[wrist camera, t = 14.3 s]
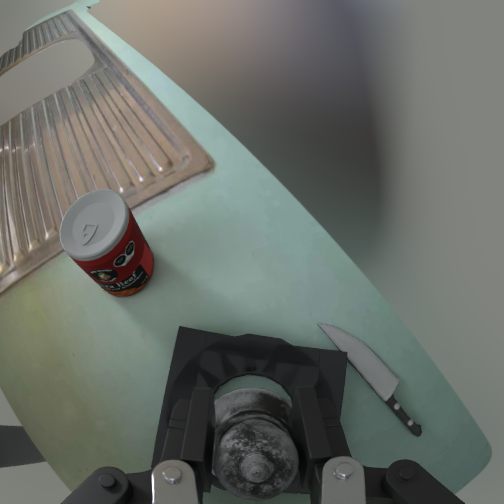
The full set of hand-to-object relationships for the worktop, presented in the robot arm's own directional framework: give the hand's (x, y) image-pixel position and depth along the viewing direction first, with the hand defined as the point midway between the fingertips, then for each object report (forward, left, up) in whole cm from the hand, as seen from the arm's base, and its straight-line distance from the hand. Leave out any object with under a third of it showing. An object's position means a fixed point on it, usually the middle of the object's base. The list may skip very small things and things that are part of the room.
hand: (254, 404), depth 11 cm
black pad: (+1, -1, -21) cm, 21 cm away
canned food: (-17, +13, -21) cm, 30 cm away
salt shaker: (0, -2, -8) cm, 8 cm away
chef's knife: (+14, +4, -21) cm, 26 cm away
